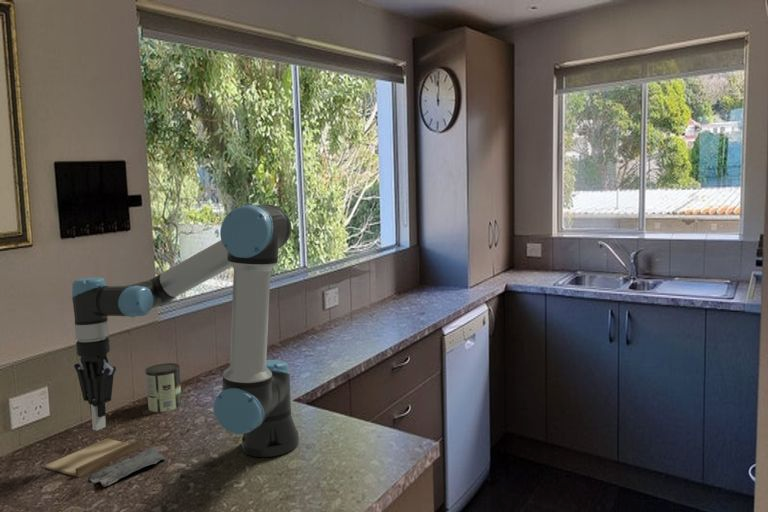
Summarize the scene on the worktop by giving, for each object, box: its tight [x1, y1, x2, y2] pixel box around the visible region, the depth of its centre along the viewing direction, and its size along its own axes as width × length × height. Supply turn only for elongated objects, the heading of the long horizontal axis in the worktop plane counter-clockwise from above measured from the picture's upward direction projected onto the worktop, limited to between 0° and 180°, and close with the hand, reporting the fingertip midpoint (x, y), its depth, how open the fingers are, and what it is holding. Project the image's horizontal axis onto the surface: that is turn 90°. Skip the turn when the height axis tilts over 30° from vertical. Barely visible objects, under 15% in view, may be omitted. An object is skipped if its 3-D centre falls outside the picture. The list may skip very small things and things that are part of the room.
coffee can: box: [144, 362, 183, 413], centre depth 183 cm, size 10×10×14 cm
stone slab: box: [89, 446, 166, 488], centre depth 143 cm, size 18×2×10 cm
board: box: [44, 438, 140, 478], centre depth 150 cm, size 13×18×2 cm
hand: (99, 428), depth 148 cm, fingers closed
